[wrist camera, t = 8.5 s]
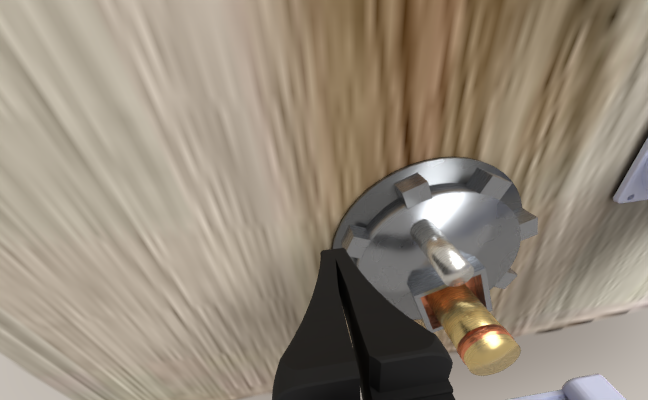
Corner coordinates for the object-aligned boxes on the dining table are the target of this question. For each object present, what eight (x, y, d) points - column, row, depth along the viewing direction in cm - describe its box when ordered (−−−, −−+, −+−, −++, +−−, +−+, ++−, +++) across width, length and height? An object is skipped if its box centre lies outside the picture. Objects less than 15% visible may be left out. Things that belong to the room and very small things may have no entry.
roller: (472, 277, 18) (530, 339, 14) (459, 308, 20) (508, 373, 15) (432, 279, 18) (478, 343, 14) (422, 310, 19) (461, 378, 15)
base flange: (548, 143, 16) (554, 145, 16) (491, 296, 24) (494, 300, 23) (323, 171, 15) (324, 174, 15) (337, 321, 23) (338, 325, 22)
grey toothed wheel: (546, 155, 16) (655, 194, 11) (491, 299, 23) (544, 361, 18) (334, 182, 15) (352, 236, 10) (344, 322, 22) (358, 393, 17)
